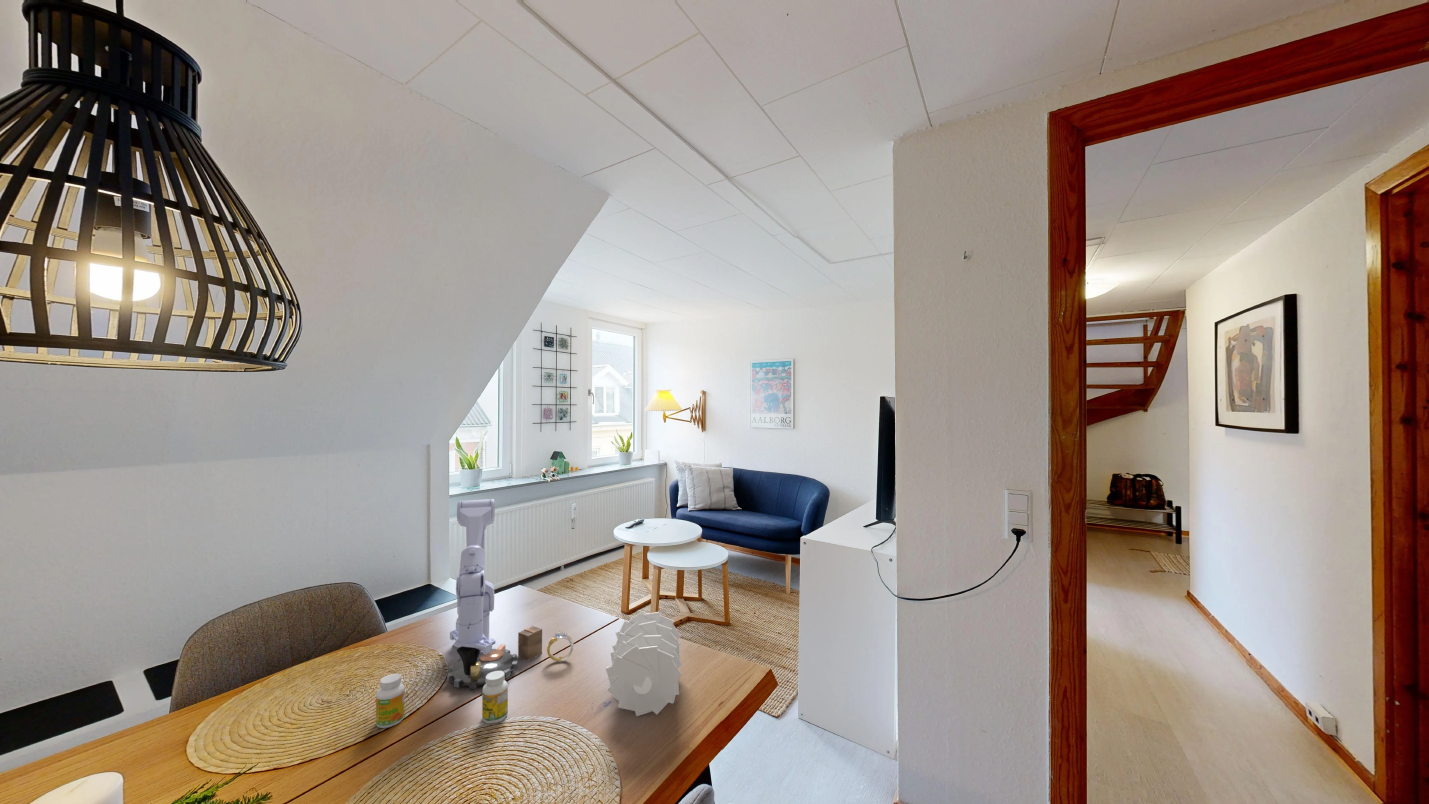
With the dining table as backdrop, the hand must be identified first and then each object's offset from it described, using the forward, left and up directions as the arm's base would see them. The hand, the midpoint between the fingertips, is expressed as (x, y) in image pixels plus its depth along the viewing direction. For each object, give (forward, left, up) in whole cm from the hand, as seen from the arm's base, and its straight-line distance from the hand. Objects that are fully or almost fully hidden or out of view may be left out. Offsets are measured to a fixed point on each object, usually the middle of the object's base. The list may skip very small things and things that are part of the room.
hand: (470, 673), depth 126 cm
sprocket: (-2, +5, -3) cm, 7 cm away
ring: (+10, +20, -4) cm, 23 cm away
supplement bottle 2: (+16, -5, -4) cm, 17 cm away
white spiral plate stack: (+40, +20, -4) cm, 45 cm away
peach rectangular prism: (-8, +14, -3) cm, 17 cm away
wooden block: (0, +18, -3) cm, 19 cm away
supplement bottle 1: (-3, -18, -4) cm, 18 cm away
